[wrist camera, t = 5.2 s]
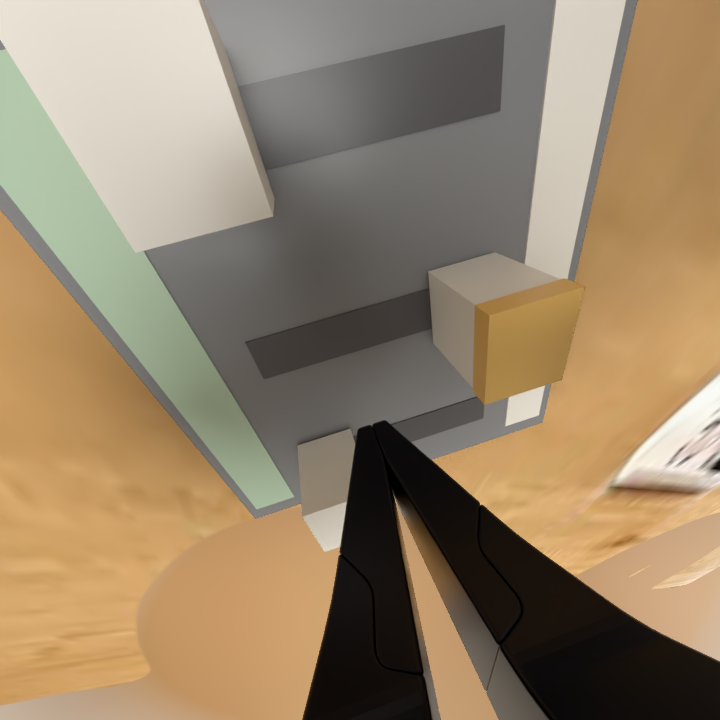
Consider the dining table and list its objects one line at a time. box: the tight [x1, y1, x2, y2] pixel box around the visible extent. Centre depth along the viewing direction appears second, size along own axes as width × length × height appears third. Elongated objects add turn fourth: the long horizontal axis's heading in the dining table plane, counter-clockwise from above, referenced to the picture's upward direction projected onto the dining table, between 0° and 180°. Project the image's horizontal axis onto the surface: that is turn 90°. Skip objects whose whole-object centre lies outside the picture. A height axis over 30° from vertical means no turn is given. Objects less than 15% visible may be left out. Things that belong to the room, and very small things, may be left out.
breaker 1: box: [0, 0, 275, 253], centre depth 7 cm, size 3×4×4 cm
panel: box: [0, 0, 638, 519], centre depth 14 cm, size 20×22×2 cm
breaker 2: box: [297, 429, 355, 552], centre depth 16 cm, size 3×4×4 cm
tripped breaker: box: [428, 252, 585, 405], centre depth 12 cm, size 3×4×4 cm
